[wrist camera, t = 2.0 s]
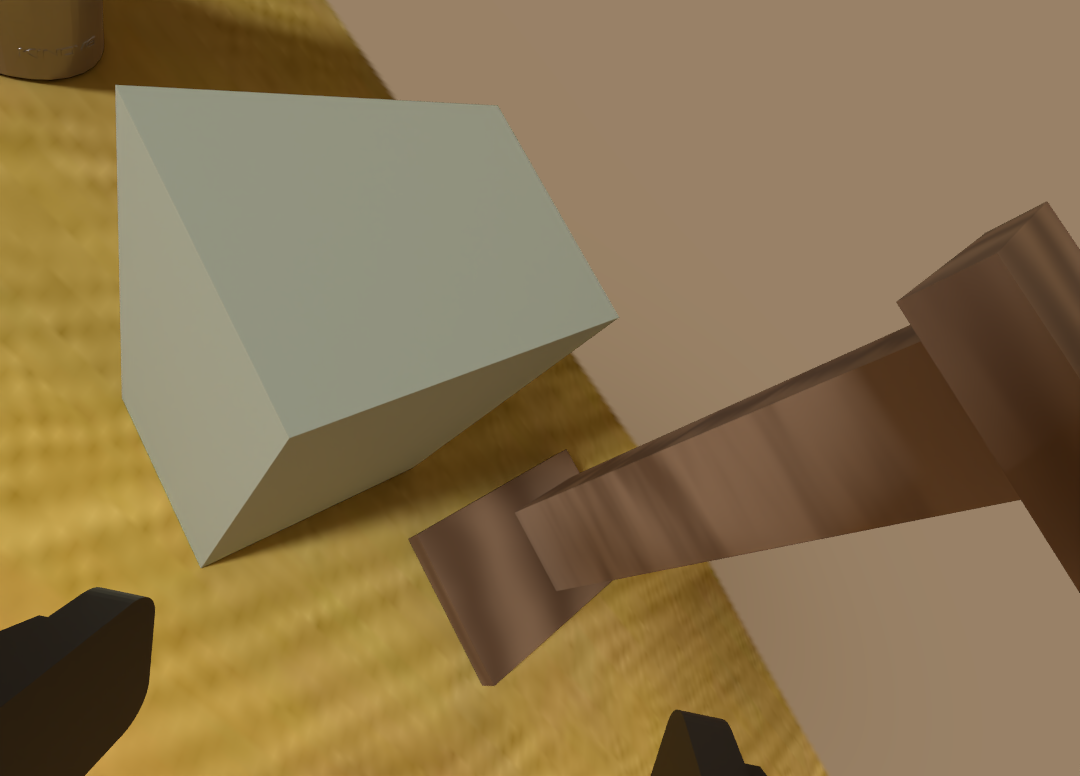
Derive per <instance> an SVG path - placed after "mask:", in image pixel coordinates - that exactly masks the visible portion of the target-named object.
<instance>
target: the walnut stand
mask: <svg viewBox="0 0 1080 776" xmlns="http://www.w3.org/2000/svg"><path fill="white" fill-rule="evenodd" d="M897 304H898V306H899V307H900V309H901V310H902V312H903V314H904V315H905V317H906V318H907V320H908V321H909V323H910V325H909V326H907V327H905V328H903V329H900V330H898V331H896V332H894V333H892V334H889V335H887V336H885V337H883V338H880V339H878V340H876V341H874V342H872V343H869V344H867V345H865V346H862V347H860V348H858V349H856V350H854V351H851V352H849V353H847V354H844V355H842V356H840V357H838V358H836V359H834V360H831V361H829V362H827V363H825V364H822V365H820V366H818V367H816V368H814V369H811V370H809V371H807V372H805V373H802V374H800V375H798V376H796V377H793V378H791V379H789V380H786V381H784V382H782V383H780V384H778V385H775V386H773V387H771V388H769V389H766V390H764V391H762V392H760V393H758V394H755V395H753V396H751V397H749V398H746V399H744V400H742V401H740V402H737V403H735V404H733V405H731V406H728V407H726V408H724V409H722V410H719V411H717V412H715V413H713V414H711V415H708V416H706V417H704V418H702V419H700V420H698V421H695V422H693V423H690V424H688V425H686V426H684V427H682V428H679V429H677V430H675V431H673V432H670V433H668V434H666V435H664V436H661V437H659V438H657V439H655V440H653V441H650V442H648V443H646V444H644V445H642V446H639V447H637V448H635V449H632V450H630V451H628V452H626V453H624V454H621V455H619V456H617V457H615V458H612V459H610V460H608V461H606V462H603V463H601V464H599V465H597V466H594V467H592V468H590V469H588V470H586V471H583V472H581V473H579V471H578V469H577V468H576V466H575V464H574V462H573V460H572V458H571V457H570V455H569V453H568V451H567V449H566V450H564V451H562V452H560V453H558V454H556V455H554V456H553V457H551V458H549V459H547V460H546V461H544V462H542V463H540V464H539V465H537V466H535V467H533V468H532V469H530V470H528V471H527V472H525V473H523V474H521V475H520V476H518V477H516V478H514V479H513V480H511V481H509V482H507V483H506V484H504V485H502V486H500V487H499V488H497V489H495V490H493V491H492V492H490V493H488V494H486V495H485V496H483V497H481V498H479V499H478V500H476V501H474V502H472V503H471V504H469V505H467V506H465V507H464V508H462V509H460V510H458V511H457V512H455V513H453V514H451V515H450V516H448V517H446V518H444V519H443V520H441V521H439V522H437V523H436V524H434V525H432V526H431V527H429V528H427V529H425V530H424V531H422V532H420V533H418V534H417V535H415V536H413V537H411V538H410V539H408V540H409V542H410V544H411V545H412V547H413V549H414V551H415V553H416V555H417V557H418V559H419V561H420V563H421V565H422V567H423V569H424V571H425V573H426V575H427V577H428V579H429V581H430V583H431V585H432V587H433V589H434V591H435V593H436V595H437V597H438V599H439V601H440V603H441V605H442V607H443V609H444V611H445V613H446V615H447V617H448V619H449V621H450V623H451V625H452V626H453V628H454V630H455V632H456V634H457V636H458V638H459V640H460V642H461V644H462V646H463V648H464V650H465V652H466V654H467V656H468V658H469V660H470V662H471V664H472V666H473V668H474V670H475V672H476V674H477V676H478V678H479V680H480V682H481V684H482V686H495V685H496V684H497V683H498V682H499V681H500V680H501V679H503V678H504V677H505V676H506V675H507V674H508V673H509V672H510V671H512V670H513V669H514V668H515V667H516V666H517V665H518V664H519V663H521V662H522V661H523V660H524V659H525V658H526V657H527V656H528V655H529V654H531V653H532V652H533V651H534V650H535V649H536V648H537V647H538V646H540V645H541V644H542V643H543V642H544V641H545V640H546V639H547V638H549V637H550V636H551V635H552V634H553V633H554V632H555V631H556V630H557V629H559V628H560V627H561V626H562V625H563V624H564V623H565V622H566V621H568V620H569V619H570V618H571V617H572V616H573V615H574V614H575V613H577V612H578V611H579V610H580V609H581V608H582V607H583V606H584V605H586V604H587V603H588V602H589V601H590V600H591V599H592V598H593V597H594V596H596V595H597V594H598V593H599V592H600V591H601V590H602V589H603V588H605V587H606V586H607V585H608V584H609V583H610V582H611V581H612V580H615V579H621V578H626V577H631V576H636V575H641V574H646V573H651V572H656V571H661V570H666V569H671V568H676V567H682V566H687V565H692V564H697V563H702V562H707V561H712V560H717V559H722V558H727V557H732V556H737V555H742V554H747V553H752V552H757V551H763V550H768V549H773V548H778V547H783V546H788V545H793V544H798V543H803V542H808V541H813V540H818V539H824V538H829V537H834V536H839V535H844V534H849V533H854V532H859V531H864V530H869V529H874V528H879V527H885V526H890V525H894V524H900V523H904V522H910V521H915V520H920V519H925V518H930V517H935V516H940V515H945V514H951V513H956V512H961V511H966V510H971V509H976V508H981V507H986V506H991V505H996V504H1001V503H1006V502H1012V501H1016V500H1021V501H1022V502H1023V504H1024V505H1025V507H1026V508H1027V510H1028V511H1029V513H1030V515H1031V516H1032V518H1033V520H1034V521H1035V523H1036V524H1037V526H1038V527H1039V529H1040V531H1041V532H1042V534H1043V535H1044V537H1045V538H1046V540H1047V542H1048V543H1049V545H1050V546H1051V548H1052V550H1053V551H1054V553H1055V554H1056V556H1057V557H1058V559H1059V561H1060V562H1061V564H1062V565H1063V567H1064V569H1065V570H1066V572H1067V574H1068V575H1069V577H1070V578H1071V580H1072V581H1073V583H1074V585H1075V586H1076V588H1077V589H1078V591H1079V593H1080V249H1079V248H1078V247H1077V245H1076V244H1075V242H1074V240H1073V239H1072V237H1071V236H1070V235H1069V233H1068V231H1067V230H1066V229H1065V227H1064V226H1063V224H1062V223H1061V221H1060V220H1059V218H1058V217H1057V215H1056V214H1055V212H1054V211H1053V209H1052V208H1051V207H1050V205H1049V203H1048V202H1045V203H1043V204H1041V205H1039V206H1037V207H1035V208H1033V209H1031V210H1029V211H1027V212H1025V213H1023V214H1022V215H1019V216H1018V217H1016V218H1014V219H1012V220H1010V221H1008V222H1006V223H1004V224H1002V225H1000V226H998V227H996V228H994V229H992V230H990V231H989V232H987V233H985V234H984V235H982V236H981V237H980V238H978V239H977V240H976V241H975V242H973V243H972V244H971V245H969V246H968V247H967V248H965V249H964V250H963V251H962V252H960V253H959V254H958V255H957V256H955V257H954V258H953V259H951V260H950V261H949V262H947V263H946V264H945V265H944V266H942V267H941V268H940V269H939V270H937V271H936V272H934V273H933V274H932V275H931V276H929V277H928V278H927V279H925V280H924V281H923V282H922V283H920V284H919V285H918V286H916V287H915V288H914V289H913V290H911V291H910V292H909V293H907V294H906V295H905V296H903V297H902V298H901V299H900V300H898V301H897Z"/></svg>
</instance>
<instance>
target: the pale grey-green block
mask: <svg viewBox="0 0 1080 776" xmlns="http://www.w3.org/2000/svg"><path fill="white" fill-rule="evenodd" d="M115 91H116V138H117V185H118V232H119V279H120V326H121V373H122V399H123V401H124V403H125V405H126V407H127V410H128V412H129V414H130V416H131V418H132V420H133V423H134V425H135V427H136V429H137V431H138V433H139V435H140V438H141V440H142V442H143V444H144V446H145V448H146V451H147V453H148V455H149V457H150V459H151V461H152V464H153V466H154V468H155V470H156V472H157V474H158V477H159V479H160V481H161V483H162V485H163V487H164V490H165V492H166V494H167V496H168V498H169V500H170V502H171V505H172V507H173V509H174V511H175V513H176V515H177V518H178V520H179V522H180V524H181V526H182V528H183V531H184V533H185V535H186V537H187V539H188V541H189V544H190V546H191V548H192V550H193V552H194V554H195V556H196V559H197V561H198V563H199V565H200V567H201V568H202V567H204V566H207V565H209V564H211V563H213V562H215V561H217V560H219V559H221V558H223V557H226V556H228V555H230V554H232V553H234V552H236V551H238V550H240V549H242V548H245V547H247V546H249V545H251V544H253V543H255V542H257V541H259V540H261V539H264V538H266V537H268V536H270V535H272V534H274V533H276V532H278V531H280V530H283V529H285V528H287V527H289V526H291V525H293V524H295V523H297V522H299V521H302V520H304V519H306V518H308V517H310V516H312V515H314V514H316V513H318V512H321V511H323V510H325V509H327V508H329V507H331V506H333V505H335V504H337V503H340V502H342V501H344V500H346V499H348V498H350V497H352V496H354V495H356V494H359V493H361V492H363V491H365V490H367V489H369V488H371V487H373V486H375V485H378V484H380V483H382V482H384V481H386V480H388V479H390V478H392V477H394V476H397V475H399V474H401V473H403V472H405V471H407V470H409V469H411V468H413V467H415V466H416V465H417V464H419V463H420V462H421V461H423V460H424V459H426V458H427V457H428V456H430V455H431V454H432V453H434V452H435V451H437V450H438V449H439V448H441V447H442V446H443V445H445V444H446V443H448V442H449V441H450V440H452V439H453V438H454V437H456V436H457V435H458V434H460V433H461V432H463V431H464V430H465V429H467V428H468V427H469V426H471V425H472V424H474V423H475V422H476V421H478V420H479V419H480V418H482V417H483V416H485V415H486V414H487V413H489V412H490V411H491V410H493V409H494V408H496V407H497V406H498V405H500V404H501V403H502V402H504V401H505V400H506V399H508V398H509V397H511V396H512V395H513V394H515V393H516V392H517V391H519V390H520V389H522V388H523V387H524V386H526V385H527V384H528V383H530V382H531V381H533V380H534V379H535V378H537V377H538V376H539V375H541V374H542V373H544V372H545V371H546V370H548V369H549V368H550V367H552V366H553V365H554V364H556V363H557V362H559V361H560V360H561V359H563V358H564V357H565V356H567V355H568V354H570V353H571V352H572V351H574V350H575V349H576V348H578V347H579V346H580V345H582V344H583V343H584V342H586V341H587V340H589V339H590V338H592V337H593V336H594V335H596V334H597V333H598V332H600V331H601V330H602V329H604V328H605V327H607V326H608V325H609V324H610V323H612V322H613V321H615V320H616V319H617V318H619V317H618V315H617V313H616V311H615V310H614V308H613V306H612V304H611V303H610V301H609V299H608V297H607V296H606V294H605V292H604V290H603V289H602V287H601V285H600V283H599V282H598V280H597V278H596V276H595V275H594V273H593V271H592V269H591V268H590V266H589V264H588V262H587V261H586V259H585V257H584V255H583V254H582V252H581V250H580V248H579V247H578V245H577V243H576V242H575V240H574V238H573V236H572V234H571V233H570V231H569V229H568V227H567V226H566V224H565V222H564V220H563V219H562V217H561V215H560V213H559V212H558V210H557V208H556V206H555V205H554V203H553V201H552V199H551V198H550V196H549V194H548V192H547V191H546V189H545V187H544V186H543V184H542V182H541V180H540V179H539V177H538V175H537V173H536V171H535V170H534V168H533V166H532V165H531V163H530V161H529V159H528V157H527V156H526V154H525V152H524V150H523V149H522V147H521V145H520V143H519V142H518V140H517V138H516V136H515V135H514V133H513V131H512V129H511V128H510V126H509V124H508V123H507V121H506V119H505V117H504V115H503V114H502V112H501V110H500V109H499V107H498V106H495V105H477V104H459V103H440V102H422V101H404V100H386V99H368V98H349V97H330V96H312V95H293V94H275V93H256V92H238V91H219V90H201V89H182V88H164V87H145V86H127V85H115Z"/></svg>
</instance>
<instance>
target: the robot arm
mask: <svg viewBox="0 0 1080 776" xmlns="http://www.w3.org/2000/svg"><path fill="white" fill-rule="evenodd" d="M103 50H104V32H103V0H0V73H1V74H4V75H8V76H14V77H20V78H27V79H44V80H52V79H61V78H69V77H72V76H75V75H79V74H82V73H84V72H86V71H87V70H89V69H91V68H92V67H94V66H95V65H96V63H97V62H98V61H99V60H100V59H101V56H102V53H103ZM154 617H155V606H154V602H153V601H152V599H150V598H148V597H144V596H139V595H134V594H129V593H125V592H120V591H115V590H110V589H105V588H100V587H96V588H92V589H90V590H87V591H86V592H84V593H82V594H81V595H79V596H78V597H77V598H75V599H74V600H72V601H71V602H69V603H68V604H66V605H65V606H63V607H62V608H61V609H59V610H58V611H56V612H55V613H53V614H52V615H50V616H49V617H44V616H40V615H39V616H36V617H34V618H31V619H29V620H26V621H24V622H21V623H19V624H16V625H14V626H11V627H9V628H6V629H4V630H1V631H0V776H85V775H86V774H87V773H88V771H89V770H90V769H91V768H92V767H93V766H94V765H95V764H96V763H97V762H98V761H99V760H100V759H101V757H102V756H103V755H104V754H105V753H106V752H107V751H108V750H109V749H110V748H111V747H112V746H113V744H114V743H115V742H116V741H117V740H118V739H119V738H120V737H121V736H122V735H123V734H124V732H125V731H126V730H127V729H128V727H129V726H130V725H131V723H132V722H133V720H134V719H135V717H136V715H137V714H138V712H139V710H140V708H141V706H142V704H143V701H144V699H145V696H146V693H147V689H148V685H149V676H150V664H151V652H152V641H153V629H154ZM651 776H767V775H766V774H765V773H764V771H763V770H762V769H761V767H759V766H754V765H750V764H745V763H744V761H743V758H742V756H741V753H740V751H739V748H738V746H737V743H736V740H735V738H734V735H733V733H732V730H731V728H730V726H729V724H728V723H727V722H726V721H725V720H723V719H719V718H715V717H710V716H705V715H700V714H695V713H691V712H686V711H681V710H675V711H673V713H672V714H671V716H670V718H669V720H668V723H667V726H666V730H665V733H664V736H663V739H662V742H661V745H660V748H659V752H658V755H657V758H656V761H655V764H654V767H653V770H652V773H651Z"/></svg>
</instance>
